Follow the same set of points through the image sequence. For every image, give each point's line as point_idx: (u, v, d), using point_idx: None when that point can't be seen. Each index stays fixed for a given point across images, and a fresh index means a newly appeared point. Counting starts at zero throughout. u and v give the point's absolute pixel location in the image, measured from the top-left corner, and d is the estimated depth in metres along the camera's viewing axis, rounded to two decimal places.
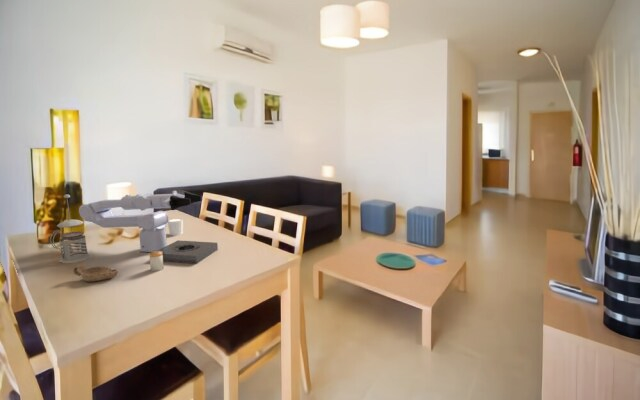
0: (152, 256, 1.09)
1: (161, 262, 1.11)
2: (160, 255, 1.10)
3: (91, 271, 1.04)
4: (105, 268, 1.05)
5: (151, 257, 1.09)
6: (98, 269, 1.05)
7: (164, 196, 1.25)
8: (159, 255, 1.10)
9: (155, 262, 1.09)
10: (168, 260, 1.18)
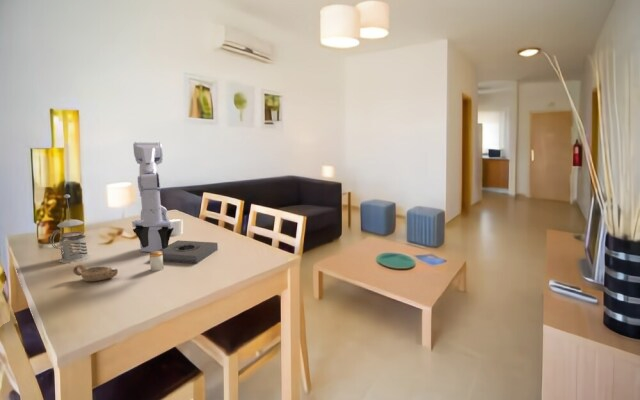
0: (152, 256, 1.09)
1: (161, 262, 1.11)
2: (160, 255, 1.10)
3: (91, 271, 1.04)
4: (105, 268, 1.05)
5: (151, 257, 1.09)
6: (98, 269, 1.05)
7: (143, 213, 1.06)
8: (159, 255, 1.10)
9: (155, 262, 1.09)
10: (168, 260, 1.18)
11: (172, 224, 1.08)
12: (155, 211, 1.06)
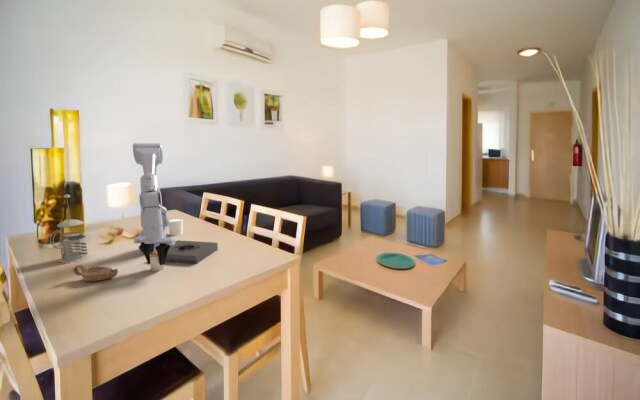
0: (152, 256, 1.09)
1: None
2: None
3: (91, 271, 1.04)
4: (105, 268, 1.05)
5: (151, 257, 1.09)
6: (98, 269, 1.05)
7: (144, 231, 1.07)
8: None
9: (155, 262, 1.09)
10: (168, 260, 1.18)
11: (173, 241, 1.09)
12: (157, 228, 1.07)
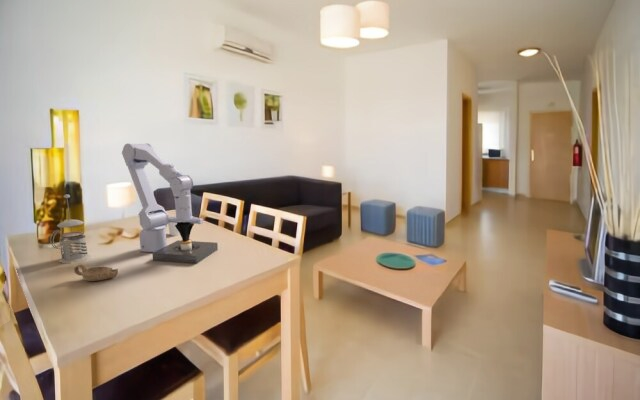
0: (183, 243, 1.23)
1: None
2: (189, 243, 1.24)
3: (92, 271, 1.04)
4: (106, 268, 1.05)
5: (182, 244, 1.23)
6: (99, 269, 1.05)
7: (176, 211, 1.21)
8: (189, 242, 1.24)
9: (185, 248, 1.23)
10: (168, 260, 1.18)
11: (201, 220, 1.22)
12: (187, 209, 1.21)
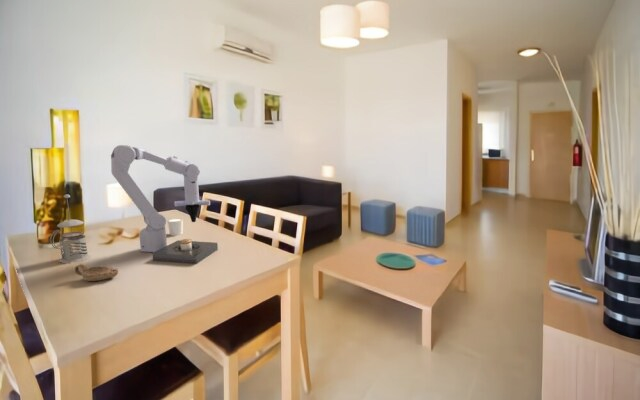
0: (183, 243, 1.23)
1: None
2: (189, 242, 1.24)
3: (92, 271, 1.04)
4: (106, 268, 1.05)
5: (182, 244, 1.23)
6: (99, 269, 1.05)
7: (186, 195, 1.36)
8: (189, 242, 1.24)
9: (185, 248, 1.23)
10: (168, 260, 1.18)
11: (209, 202, 1.41)
12: (197, 192, 1.37)
